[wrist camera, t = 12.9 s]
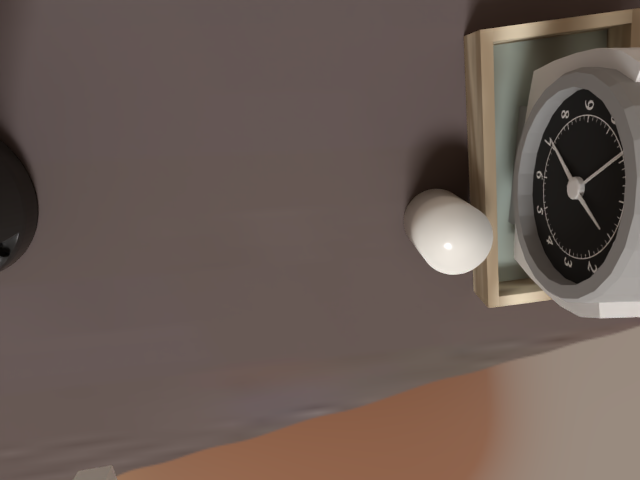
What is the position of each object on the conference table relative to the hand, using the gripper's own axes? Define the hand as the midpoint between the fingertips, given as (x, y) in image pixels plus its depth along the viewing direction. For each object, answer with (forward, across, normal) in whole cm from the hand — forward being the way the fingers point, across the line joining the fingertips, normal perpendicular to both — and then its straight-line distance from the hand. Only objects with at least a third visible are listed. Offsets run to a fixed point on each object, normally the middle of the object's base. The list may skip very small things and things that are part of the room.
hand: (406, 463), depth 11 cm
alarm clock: (+34, +20, -1) cm, 39 cm away
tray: (+34, +21, -1) cm, 40 cm away
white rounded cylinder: (+35, +10, -5) cm, 37 cm away
